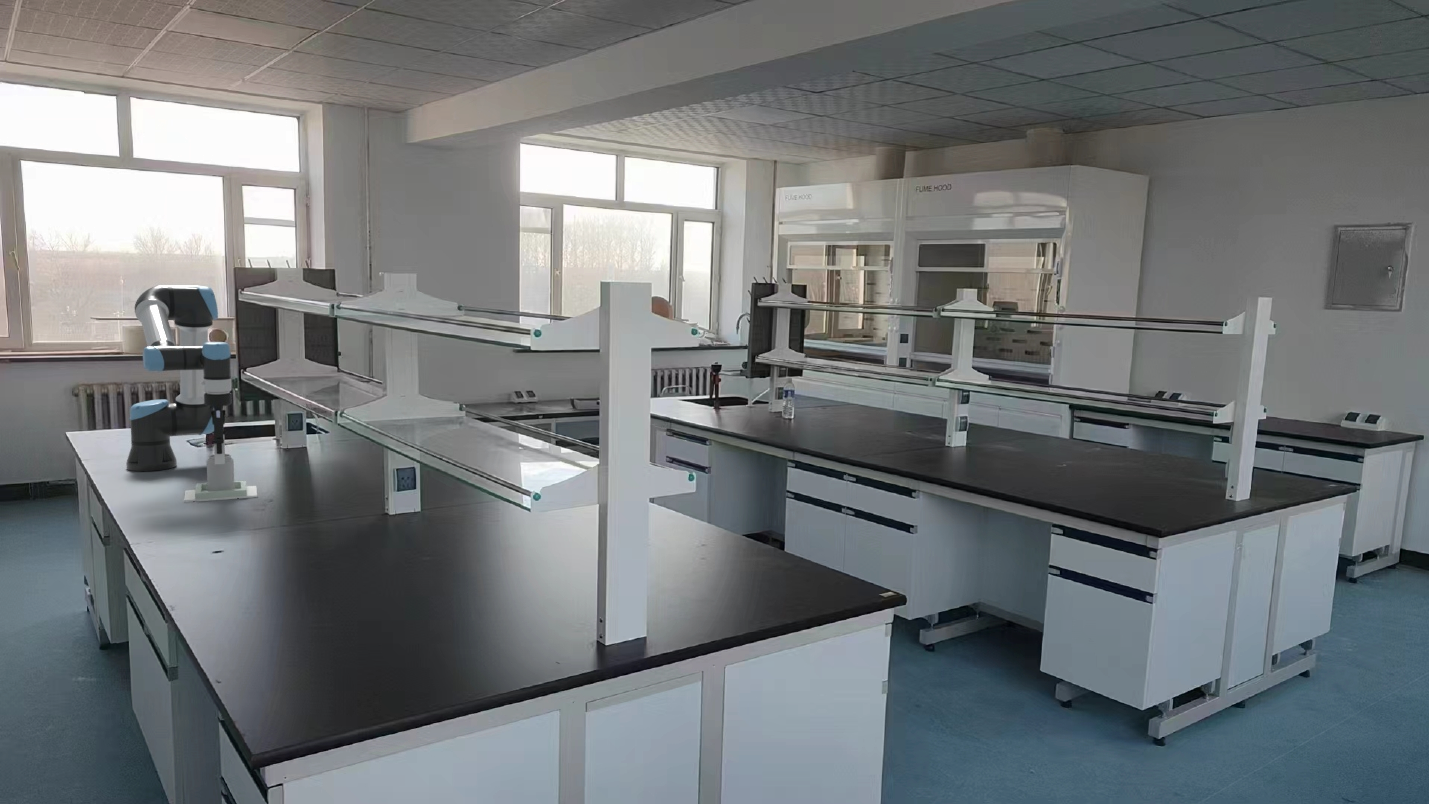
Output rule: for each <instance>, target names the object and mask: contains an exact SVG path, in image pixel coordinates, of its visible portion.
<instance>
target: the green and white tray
mask: <svg viewBox="0 0 1429 804" xmlns="http://www.w3.org/2000/svg"><path fill="white" fill-rule="evenodd" d="M184 493H185V494H184V499H183V503H193V501H195V502H207V501H208V502H209V501H220V500H221V501H222V500H236V499H237V498H239V499H249V498H251V499H252V498H253V499H254V498H258V489H257V485H247V481H246V480H234V490H224V491H209V492H208V485H207V482H202V483H196V485H195V489H186V490H185V492H184Z"/></svg>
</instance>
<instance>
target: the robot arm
mask: <svg viewBox="0 0 1429 804" xmlns="http://www.w3.org/2000/svg"><path fill="white" fill-rule="evenodd" d="M134 314H135V317H136V319H137V320H138V322H140V323H141V326H142V331H143V334H144V339H145V343H146V346H145V347H144V348H143V350H142V362H143V368H144V369H145V370H146V371H148V372H168V371H169V372H172V371H180V372H179V373H180V374H179V375H180V377H179V378H180V394H179V395H177V396H176V397H175V402H174V403H173V402H172V403H170V401H169V400H168V399H164V398H163V399H151V400H145V401H141V402H137V403H134V404H133V405H132V406H130V409H129V420H130V440H131V441H130V442H131V443H130V444H131V447H130V451H129V453H128V457H127V459H126V470H128V471H132V472H154V471H163V470H168V469H173V468H174V467H177V466H178V464H177V460H178V459H177V457H176V455H175V452H174V450H173V448H172V446H171V437H181V436H182V437H183V436H202V435H206V434H212V433H213V432H214V433H213V437H214V439H213V440H211V445H213V451H214V452H213V453H214V454H213V455H214V456H215V464H225V455H224V454H226V449H225V448H226V447H225V446H226V443H225V435H226V434H227V430H225V428H224V425H225V423H226V415H227V414H226V409H224V407H225V406H230V405H232V403H233V401H232V400H233V398H232V393H231V391H232V378H231V375H232V374H231V373H232V372H231V354H232V353H231V346H230V344H229V343H228V342H223V341H208V340H209V338H208V337H209V336H208V335H209V332H208V331H209V329H210V328H211V327H212V326H213V325H214V324H213V323H214V322H213V321H216V320H217V319H218V318H219V311H218V304H217V299H216V294H215V292H214V290H213V289H212V287H210V286H207V285H206V286H205V285H199V284H198V285H197V284H196V285H194V284H193V285H192V284H191V285H188V284H187V285H185V284H183V285H182V284H181V285H179V284H176V285H174V284H172V285H169V284H159V285H155V286H152V287H150V288H148V289H147V290H145V291H144V292H142V293H141V294H140V295H139V297H138V298H137V299H136V301H135V303H134ZM169 320H173V321H174V325H175V326H176V327H177V328H178V329H179V345H178V346H177V345H176V342H175V339H174V338H175V337H174V335H173V332H172V328H171V326H170V323H169V322H170V321H169Z"/></svg>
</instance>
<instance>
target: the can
mask: <svg viewBox="0 0 1429 804" xmlns="http://www.w3.org/2000/svg"><path fill="white" fill-rule="evenodd" d="M224 455H225V464H215V456H214V454H211V455H208V459H207V460H206V478H207V479H206V480H207V482H206V483H207V485H208V492H209V491H224V490H234V481H235V472H234V471H235V466H234V465H235V464H234V462H235V461H234V458H232V455H231V454H228V453H225V454H224Z"/></svg>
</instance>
